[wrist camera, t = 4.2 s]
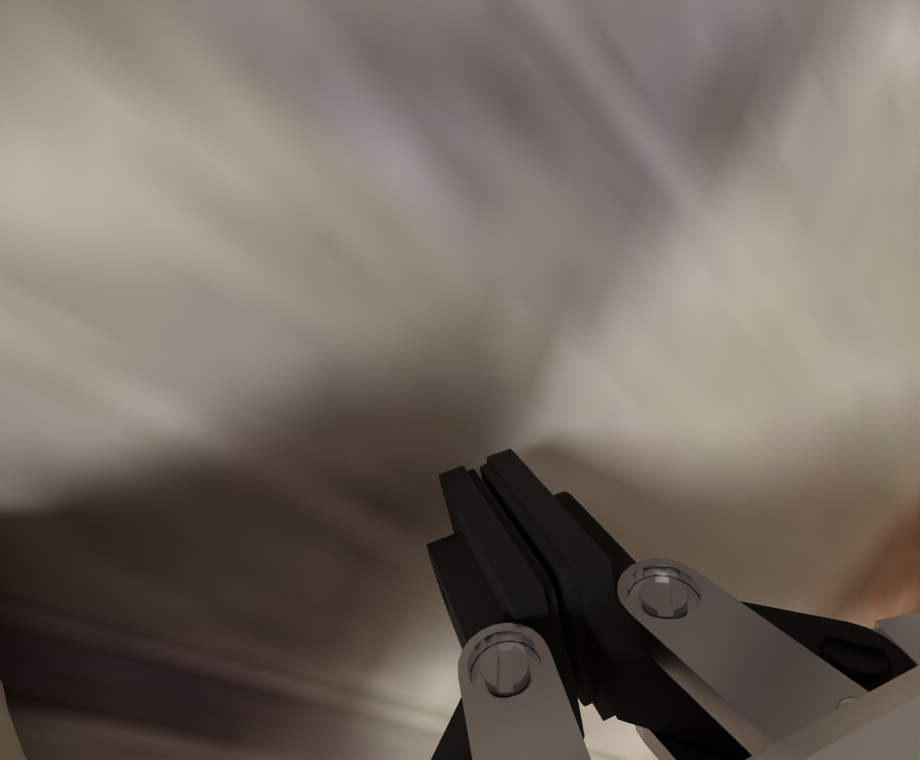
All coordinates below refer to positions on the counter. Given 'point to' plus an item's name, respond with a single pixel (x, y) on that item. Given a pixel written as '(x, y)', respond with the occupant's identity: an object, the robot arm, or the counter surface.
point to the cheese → (8, 733)
